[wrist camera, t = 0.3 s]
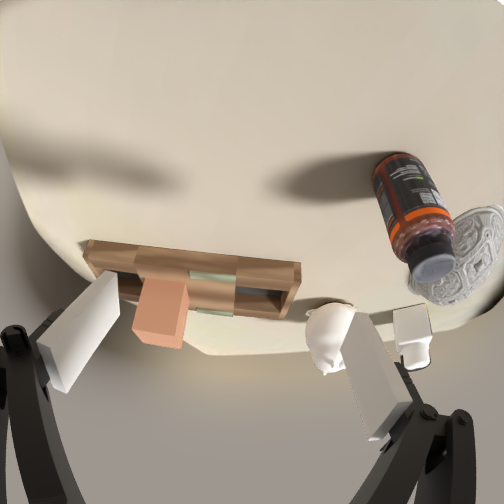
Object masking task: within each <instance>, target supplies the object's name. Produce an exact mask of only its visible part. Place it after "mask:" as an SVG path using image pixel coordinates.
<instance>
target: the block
mask: <svg viewBox="0 0 504 504" xmlns="http://www.w3.org/2000/svg"><path fill="white" fill-rule="evenodd" d="M189 302H190V301H189V296H188V292H187V288H186V284H185V283H184V282H176V281H168V280H161V279H153V278H146V277H145V281H144V284H143V288H142V291H141V295H140V299H139V302H138V306H137V310H136V314H135V318H134V322H133V326H132V330H133V331H134V332H135V334H136V335H137V336H138V337H139V338H140V339H141V341H142V342H143V343H148V344H153V345H159V346H164V347H171V348H177V349H181V347H182V341H183V335H184V330H185V324H186V318H187V313H188V307H189Z"/></svg>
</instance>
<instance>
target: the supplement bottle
mask: <svg viewBox="0 0 504 504" xmlns="http://www.w3.org/2000/svg"><path fill="white" fill-rule="evenodd" d="M372 183H373V188H374V191H375V194H376V197H377V200H378V203H379V206H380V209H381V212H382V215H383V218H384V222H385V225H386V228H387V232H388V235H389V239H390V242H391V245H392V249H393V252H394V253H395V255H396V256H397V258H398V259H399V260H401V261H402V262H404V263H407V264H408V266H409V269H410V272H411V276H412V278H413V280H415V281H416V282H419V283H429V282H434V281H437V280H439V279H441V278H443V277H445V276H446V275H448V274H449V273H450V272H451V271H452V270H453V269H454V267H455V265H456V258H455V255H454V253H453V249H452V244H453V242H454V239H455V227H454V224H453V221H452V219H451V217H450V215H449V213H448V210H447V208H446V206H445V204H444V202H443V200H442V198H441V196H440V194H439V192H438V190H437V188H436V187H435V184H434V183H433V181H432V179H431V177H430V175H429V173H428V172H427V170H426V168H425V167H424V165H423V163H422V162H421V161H420V160H419V159H418V158H417V157H415V156H413V155H410V154H395V155H392V156H389V157H387V158H386V159H384V160H383V161H382V162H381V163H380V164H379V165H378V166H377V167H376V169H375V171H374V173H373V178H372Z"/></svg>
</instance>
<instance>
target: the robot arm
mask: <svg viewBox="0 0 504 504" xmlns="http://www.w3.org/2000/svg"><path fill="white" fill-rule="evenodd" d="M119 315H120V309H119V296H118V279H117V273H115V272H110V271H106V270H105V271H104V272H103V273H102V274H101V275H100V276H99V277H98V278H97V279H96V280H95V281H94V282H93V283H92V284H91V285H90V286H89V287H88V288H87V289H86V290H85V291H84V292H83V293H82V294H81V295H80V296H79V297H78V298H77V299H76V300H75V301H74V302H73V303H72V304H71V305H70V306H69V307H68V308H67V309H66V310H63V309H59V310H57V311H55V312H53V313H52V314H51V315H50V316H49V317H48V318H47V319H46V320H45V321H44V322H43V323H42V325H40V326H39V327H38V328H37V329H36V330H35V331H34V332H33V333H32V334H31V335H30V336H29V337H28V336H27V333H26V330H25V328H24V327H23V326H20V325H11V326H8V327H6V328H5V329H4V330H3V331H2V332H1V335H0V338H1V340H2V343H3V346H4V347H3V346H0V504H7V498H6V474H5V473H6V472H5V466H6V465H5V463H6V440H7V428H8V418H9V417H10V425H11V431H12V437H13V443H14V448H15V453H16V458H17V462H18V466H19V470H20V474H21V478H22V482H23V485H24V489H25V492H26V495H27V498H28V502H29V504H86V503H85V501H84V499H83V497H82V495H81V493H80V490H79V488H78V486H77V483H76V481H75V478H74V476H73V473H72V471H71V468H70V465H69V463H68V460H67V457H66V454H65V451H64V448H63V445H62V442H61V439H60V436H59V432H58V428H57V425H56V421H55V417H54V413H53V409H52V405H51V401H50V396H49V391H48V388H47V386H46V384H47V383H48V381H49V380H50V381H51V383H52V385H53V387H54V388H55V389H57V390H59V391H62V392H64V393H66V394H67V393H68V391H69V390H70V388H71V386H72V384H73V383H74V382H75V380H76V378H77V377H78V375H79V374H80V372H81V371H82V369H83V368H84V366H85V364H86V363H87V361H88V360H89V359H90V357H91V355H92V354H93V352H94V351H95V350H96V348H97V346H98V345H99V344H100V342H101V341H102V339H103V338H104V336H105V335H106V334H107V332H108V331H109V329H110V328H111V326H112V325H113V323H114V322H115V321H116V319H117V318H118V317H119ZM340 352H341V355H342V358H343V361H344V364H345V367H346V370H347V374H348V377H349V380H350V383H351V386H352V389H353V392H354V396H355V398H356V402H357V405H358V408H359V411H360V415H361V418H362V422H363V425H364V429H365V432H366V436H367V439H368V441H369V440H380V439H383V438H384V437H385V436H386V434H387V433H388V432H389V434H390V436H391V438H390V440H389V441H388V442H387V443H386V444H385V445H384V446H383V447H382V448H381V449H380V451H382V450H383V451H382V453H381V455H380V456H379V458H378V460H377V462H376V463H375V465H374V467H373V469H372V470H371V472H370V473H369V475H368V477H367V478H366V480H365V481H364V483H363V485H362V486H361V487H360V489H359V490H358V492H357V493H356V495H355V496H354V498H353V499H352V501H351V502H350V504H407V502H408V500H409V498H410V496H411V494H412V492H413V490H414V487H415V485H416V483H417V481H418V484H417V490H416V496H415V501H414V504H475V501H476V452H475V438H474V426H473V420H472V417H471V416H470V414H469V413H468V412H466V411H464V410H461V409H457V410H455V411H454V412H453V413H452V415H451V416H445V415H439V414H438V412H437V410H436V409H435V408H433V407H432V406H431V405H428V404H424V403H423V401H422V399H421V397H420V395H419V394H418V392H417V389H416V387H415V385H414V384H413V382H412V380H411V378H410V376H409V374H408V372H407V370H406V369H405V368H404V367H403V366H402V365H401V364H400V363H399V362H393V360H392V358H391V356H390V354H389V352H388V351H387V349H386V347H385V345H384V343H383V341H382V339H381V337H380V335H379V333H378V332H377V330H376V328H375V326H374V324H373V323H372V321H371V319H370V317H369V315H368V314H367V313H362V312H355V314H354V316H353V319H352V321H351V324H350V326H349V329H348V331H347V334H346V336H345V338H344V341H343V343H342V345H341V348H340Z"/></svg>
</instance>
